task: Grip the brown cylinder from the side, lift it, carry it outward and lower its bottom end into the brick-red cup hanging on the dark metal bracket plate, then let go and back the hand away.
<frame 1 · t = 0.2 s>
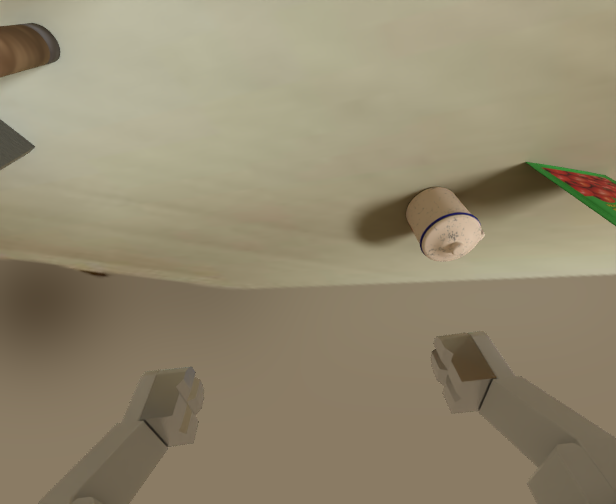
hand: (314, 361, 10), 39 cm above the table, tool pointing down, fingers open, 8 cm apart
brown cylinder: (41, 43, 35), on the table
teacup with lid: (437, 209, 53), on the table
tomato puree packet: (565, 168, 50), on the table
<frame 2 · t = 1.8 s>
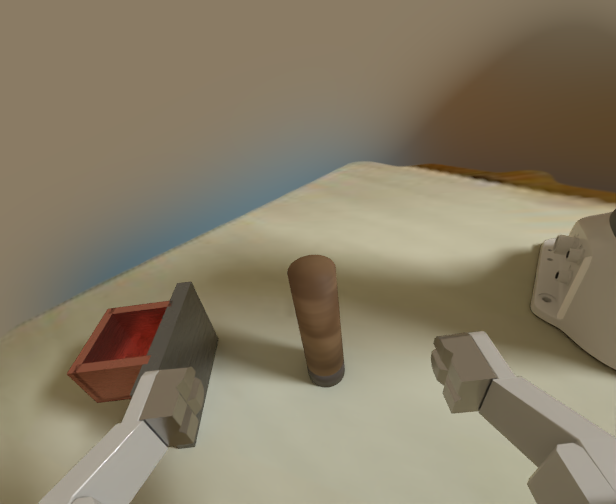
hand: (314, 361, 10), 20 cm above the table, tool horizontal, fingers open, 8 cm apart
brown cylinder: (326, 370, 32), on the table
bracket: (169, 389, 33), on the table
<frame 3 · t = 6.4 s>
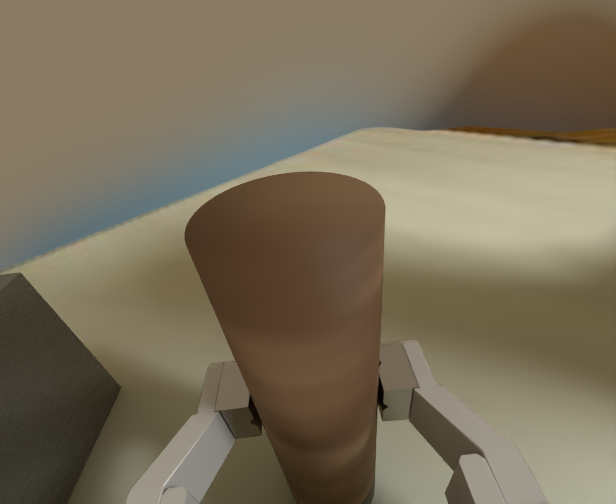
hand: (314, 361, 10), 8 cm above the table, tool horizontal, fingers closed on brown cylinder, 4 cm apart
brown cylinder: (332, 476, 14), on the table, touching gripper
when the fingers open (15 cm above the table, at t = 11.1 s): brown cylinder drops 1 cm, resting on bracket.
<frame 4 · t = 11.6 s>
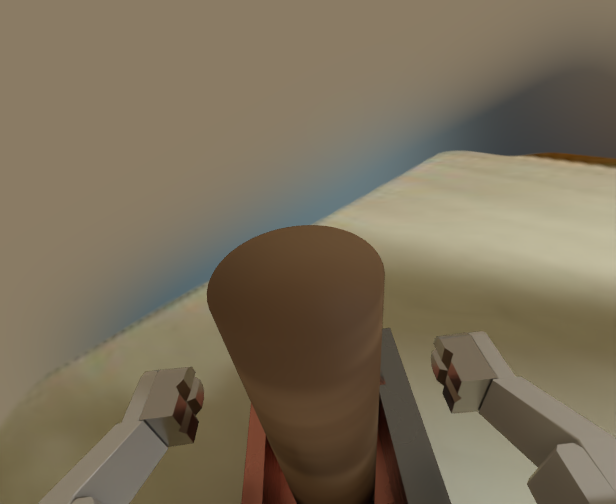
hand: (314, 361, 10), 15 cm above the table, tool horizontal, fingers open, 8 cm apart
brown cylinder: (335, 488, 15), point 6 cm above the table, touching bracket
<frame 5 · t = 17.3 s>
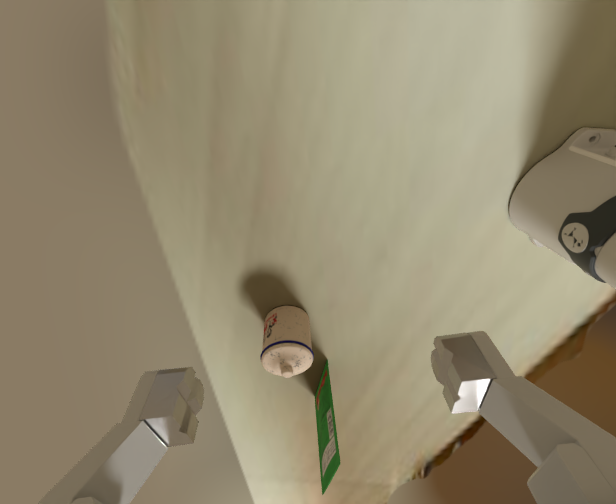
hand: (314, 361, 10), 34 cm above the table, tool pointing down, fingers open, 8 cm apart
teacup with lid: (285, 324, 60), on the table
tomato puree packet: (320, 378, 72), on the table
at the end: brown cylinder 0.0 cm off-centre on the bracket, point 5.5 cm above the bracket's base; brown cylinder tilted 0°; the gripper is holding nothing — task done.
